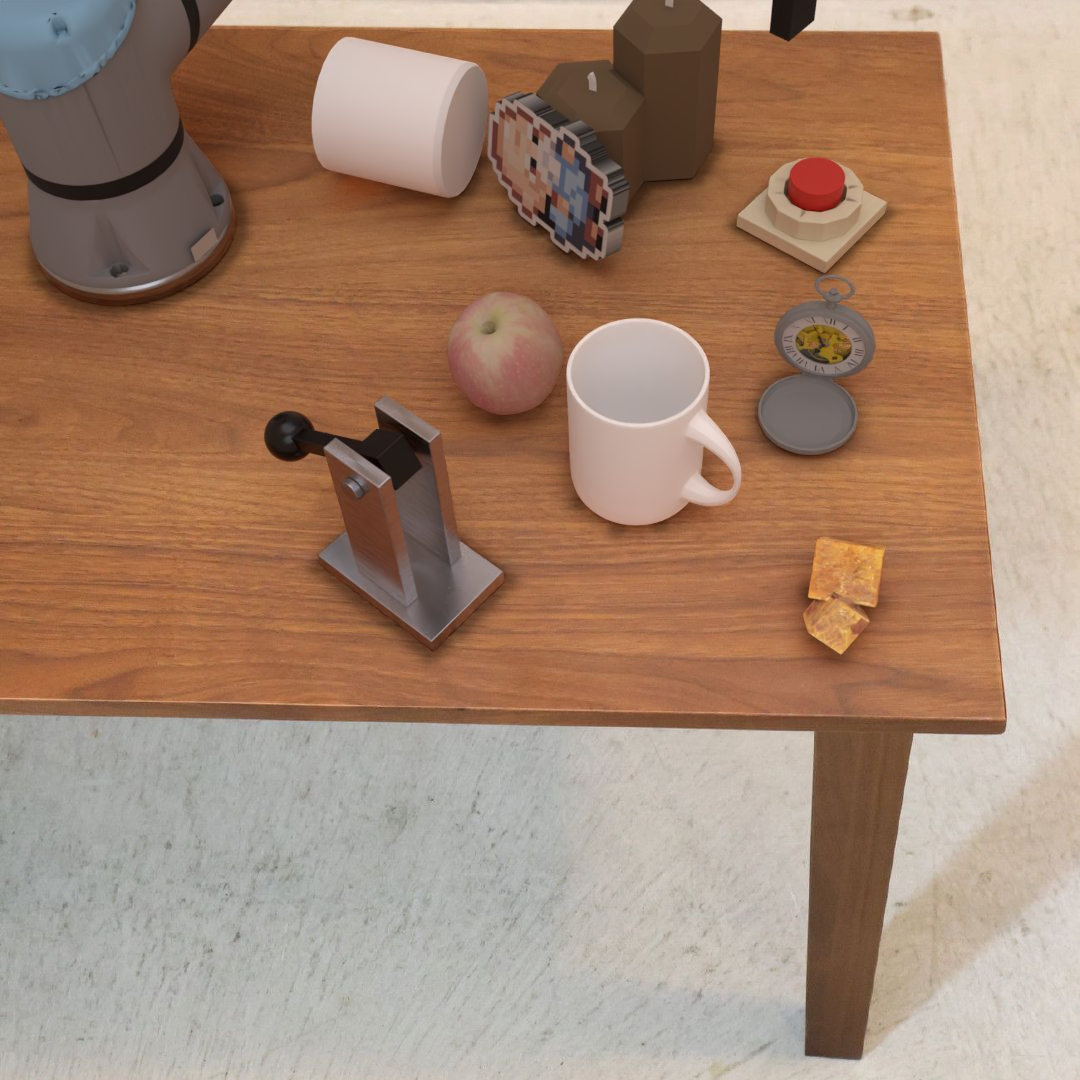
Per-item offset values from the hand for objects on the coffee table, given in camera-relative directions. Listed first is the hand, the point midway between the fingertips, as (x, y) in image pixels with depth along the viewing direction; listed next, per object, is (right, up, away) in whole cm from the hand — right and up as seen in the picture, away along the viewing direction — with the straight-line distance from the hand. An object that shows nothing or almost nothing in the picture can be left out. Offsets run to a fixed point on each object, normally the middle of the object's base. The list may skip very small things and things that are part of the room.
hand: (792, 26), depth 88 cm
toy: (-15, -9, +18) cm, 25 cm away
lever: (-27, -28, -4) cm, 39 cm away
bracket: (-24, -34, +1) cm, 42 cm away
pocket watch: (+3, -23, +8) cm, 25 cm away
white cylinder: (-21, -1, +18) cm, 28 cm away
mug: (-8, -29, +4) cm, 30 cm away
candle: (-9, -2, +23) cm, 24 cm away
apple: (-18, -22, +9) cm, 30 cm away
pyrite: (+2, -36, -1) cm, 36 cm away
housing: (+5, -8, +18) cm, 20 cm away
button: (+4, -7, +15) cm, 17 cm away
